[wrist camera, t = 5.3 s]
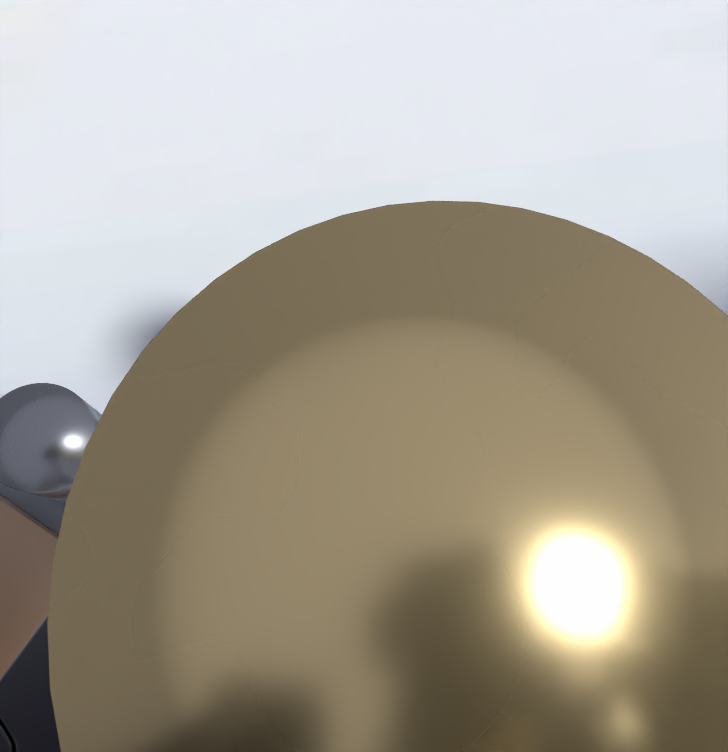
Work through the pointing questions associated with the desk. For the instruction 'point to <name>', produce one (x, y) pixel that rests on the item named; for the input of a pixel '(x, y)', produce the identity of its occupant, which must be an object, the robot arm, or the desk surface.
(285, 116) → the desk surface
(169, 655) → the gold metal cylinder
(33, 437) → the spacer posts
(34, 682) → the robot arm
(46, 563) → the pad
